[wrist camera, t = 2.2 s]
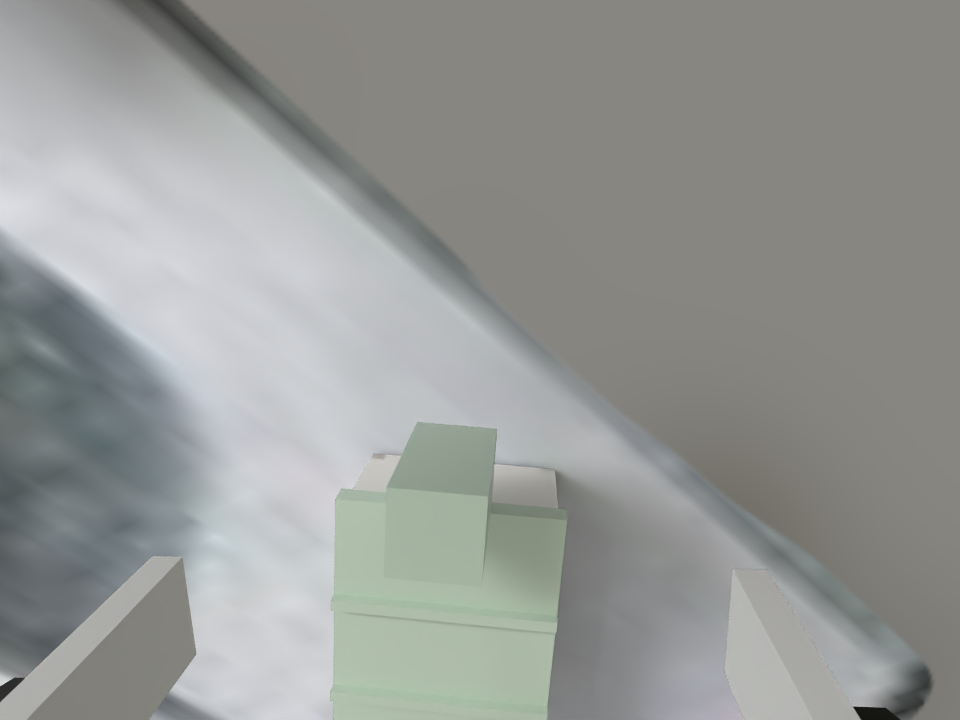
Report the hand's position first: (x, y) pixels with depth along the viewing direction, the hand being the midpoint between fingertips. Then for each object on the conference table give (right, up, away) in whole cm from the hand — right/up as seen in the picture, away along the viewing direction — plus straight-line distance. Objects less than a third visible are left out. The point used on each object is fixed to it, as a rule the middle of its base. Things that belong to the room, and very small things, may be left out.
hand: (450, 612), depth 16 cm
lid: (-1, -7, +20) cm, 21 cm away
